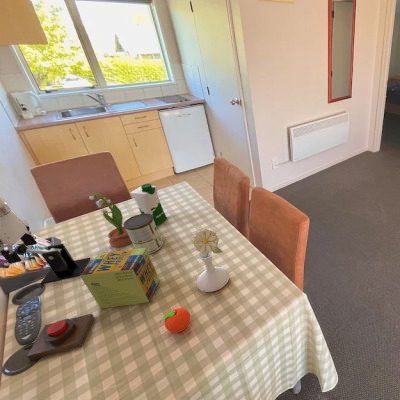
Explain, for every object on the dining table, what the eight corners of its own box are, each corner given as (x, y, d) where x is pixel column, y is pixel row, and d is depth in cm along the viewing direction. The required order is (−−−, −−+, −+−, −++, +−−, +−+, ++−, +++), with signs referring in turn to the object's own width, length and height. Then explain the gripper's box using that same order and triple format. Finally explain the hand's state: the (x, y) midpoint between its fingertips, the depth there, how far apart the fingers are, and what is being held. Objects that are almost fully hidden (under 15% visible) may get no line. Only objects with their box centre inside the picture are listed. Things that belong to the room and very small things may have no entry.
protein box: (150, 302, 90) (133, 269, 82) (100, 309, 88) (78, 275, 80) (160, 279, 99) (146, 247, 91) (115, 284, 97) (97, 252, 89)
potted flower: (101, 247, 115) (74, 197, 102) (120, 233, 123) (96, 186, 110) (126, 250, 113) (100, 200, 100) (143, 236, 121) (121, 187, 109)
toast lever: (12, 255, 92) (11, 248, 90) (17, 250, 94) (17, 242, 93) (57, 259, 97) (58, 252, 96) (61, 253, 100) (62, 246, 99)
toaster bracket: (42, 286, 97) (23, 262, 91) (55, 267, 105) (39, 244, 99) (81, 277, 100) (66, 253, 94) (91, 260, 108) (78, 237, 102)
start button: (47, 338, 75) (43, 334, 74) (54, 326, 79) (51, 322, 78) (64, 334, 76) (61, 330, 76) (70, 322, 80) (67, 318, 79)
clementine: (163, 342, 78) (155, 327, 74) (165, 323, 83) (158, 308, 80) (193, 332, 80) (187, 317, 77) (192, 314, 86) (187, 299, 82)
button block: (30, 360, 74) (22, 352, 72) (49, 329, 82) (42, 321, 80) (82, 346, 77) (75, 338, 75) (95, 317, 85) (89, 309, 83)
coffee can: (133, 247, 115) (120, 220, 108) (158, 236, 121) (148, 210, 114) (139, 258, 109) (126, 231, 101) (166, 246, 115) (156, 220, 108)
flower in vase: (190, 289, 94) (169, 234, 82) (212, 267, 104) (196, 214, 91) (220, 300, 90) (203, 243, 78) (240, 276, 100) (228, 221, 87)
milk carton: (158, 227, 127) (143, 190, 117) (141, 225, 128) (125, 189, 118) (169, 216, 135) (157, 181, 125) (153, 215, 136) (139, 180, 126)
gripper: (-5, 201, 91) (25, 240, 100) (-44, 230, 77) (-6, 272, 86) (23, 197, 93) (49, 236, 102) (-11, 225, 79) (23, 267, 88)
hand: (24, 252), depth 94 cm, fingers open, 9 cm apart
